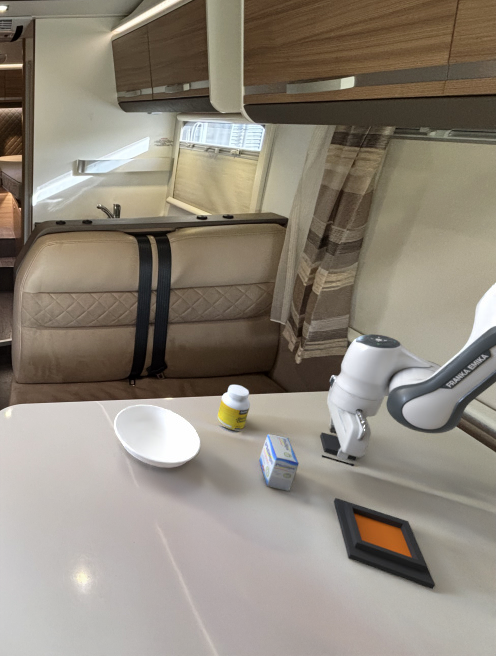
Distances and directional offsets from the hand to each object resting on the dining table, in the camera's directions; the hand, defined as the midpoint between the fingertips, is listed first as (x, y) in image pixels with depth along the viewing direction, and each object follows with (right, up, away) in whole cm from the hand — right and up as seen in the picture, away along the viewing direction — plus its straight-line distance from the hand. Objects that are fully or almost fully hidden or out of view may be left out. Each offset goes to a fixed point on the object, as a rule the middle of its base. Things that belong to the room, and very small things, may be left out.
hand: (336, 443), depth 104 cm
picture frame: (-8, -11, -20) cm, 24 cm away
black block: (0, -3, +1) cm, 3 cm away
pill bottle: (-20, +1, +10) cm, 23 cm away
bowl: (-44, -3, +2) cm, 44 cm away
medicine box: (-19, -6, -5) cm, 20 cm away
